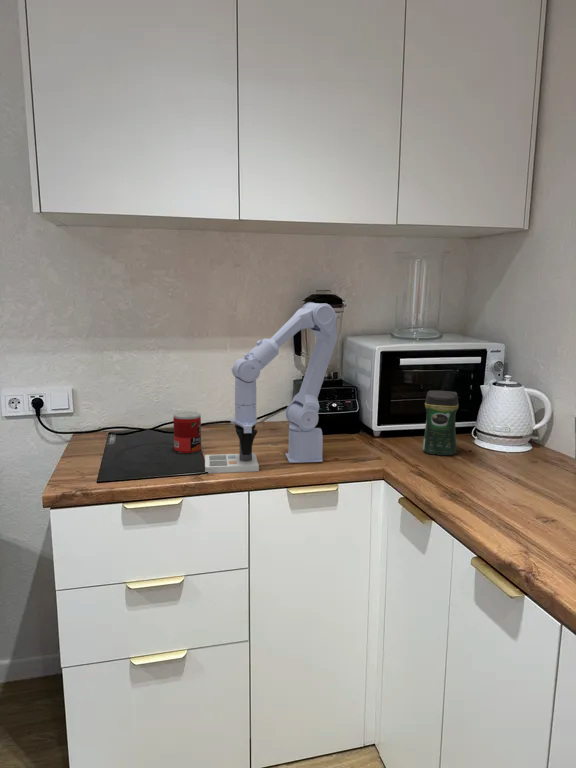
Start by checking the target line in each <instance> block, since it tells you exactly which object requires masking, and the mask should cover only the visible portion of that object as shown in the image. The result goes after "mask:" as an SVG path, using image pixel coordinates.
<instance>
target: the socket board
mask: <svg viewBox="0 0 576 768" xmlns="http://www.w3.org/2000/svg"><path fill="white" fill-rule="evenodd" d="M259 471H260V465H259V462H258V459H257V455H256V453H255V452H254V453H253V452H252V460H251V461H240V453H226V454H225V453H221V454H205V455H204V473H205V472H208V473H207V474H217V473H222V474H223V473H242V472H243V473H247V472H249V473H250V472H251V473H252V472H259Z"/></svg>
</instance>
